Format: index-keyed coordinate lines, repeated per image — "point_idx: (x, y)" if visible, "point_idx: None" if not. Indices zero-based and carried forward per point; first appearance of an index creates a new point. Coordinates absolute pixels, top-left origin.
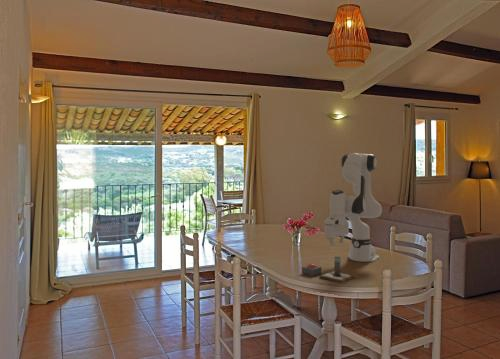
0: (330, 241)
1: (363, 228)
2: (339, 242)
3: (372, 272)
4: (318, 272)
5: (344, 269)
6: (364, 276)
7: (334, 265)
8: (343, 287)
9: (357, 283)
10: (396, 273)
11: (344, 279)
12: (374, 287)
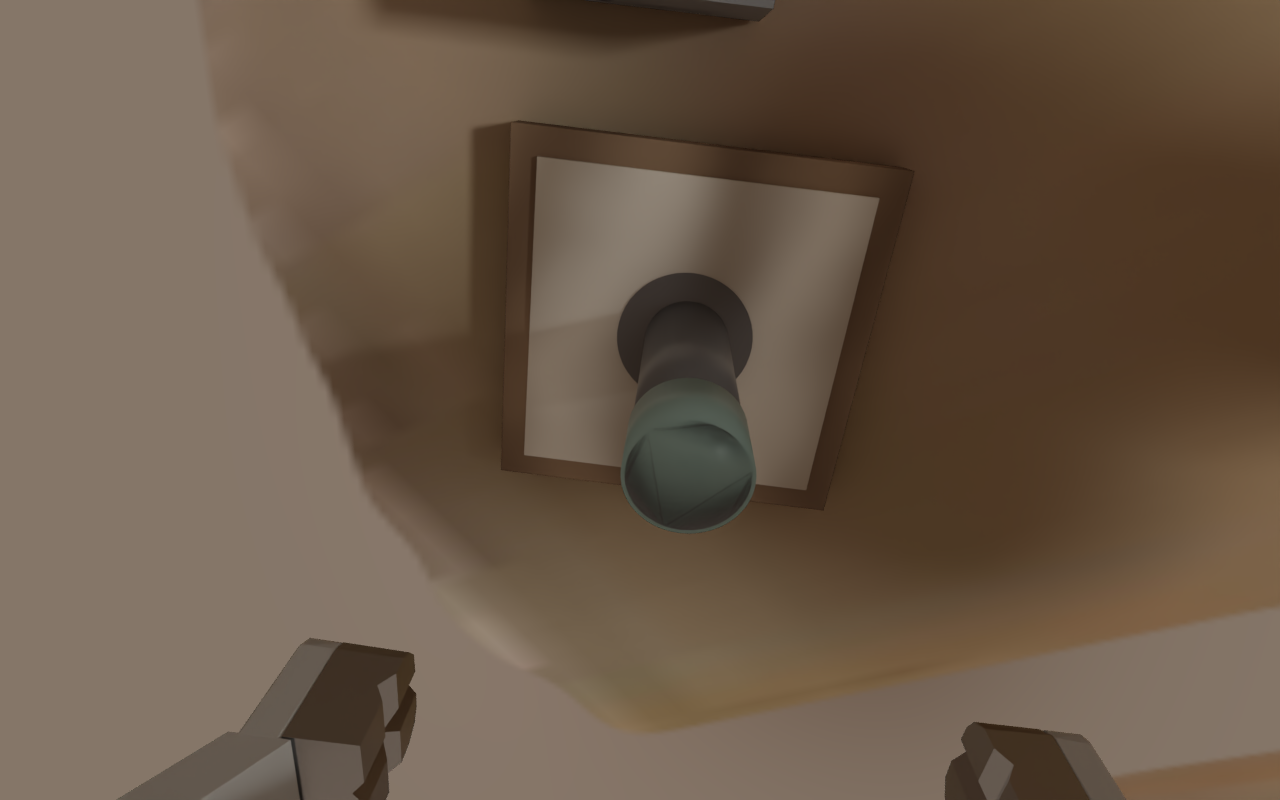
0: (176, 792)
1: None
2: (977, 732)
3: (1197, 574)
4: (668, 6)
5: (1234, 220)
6: (954, 556)
7: (659, 361)
8: (394, 521)
9: (627, 580)
10: (1249, 760)
11: (579, 477)
12: (606, 722)
